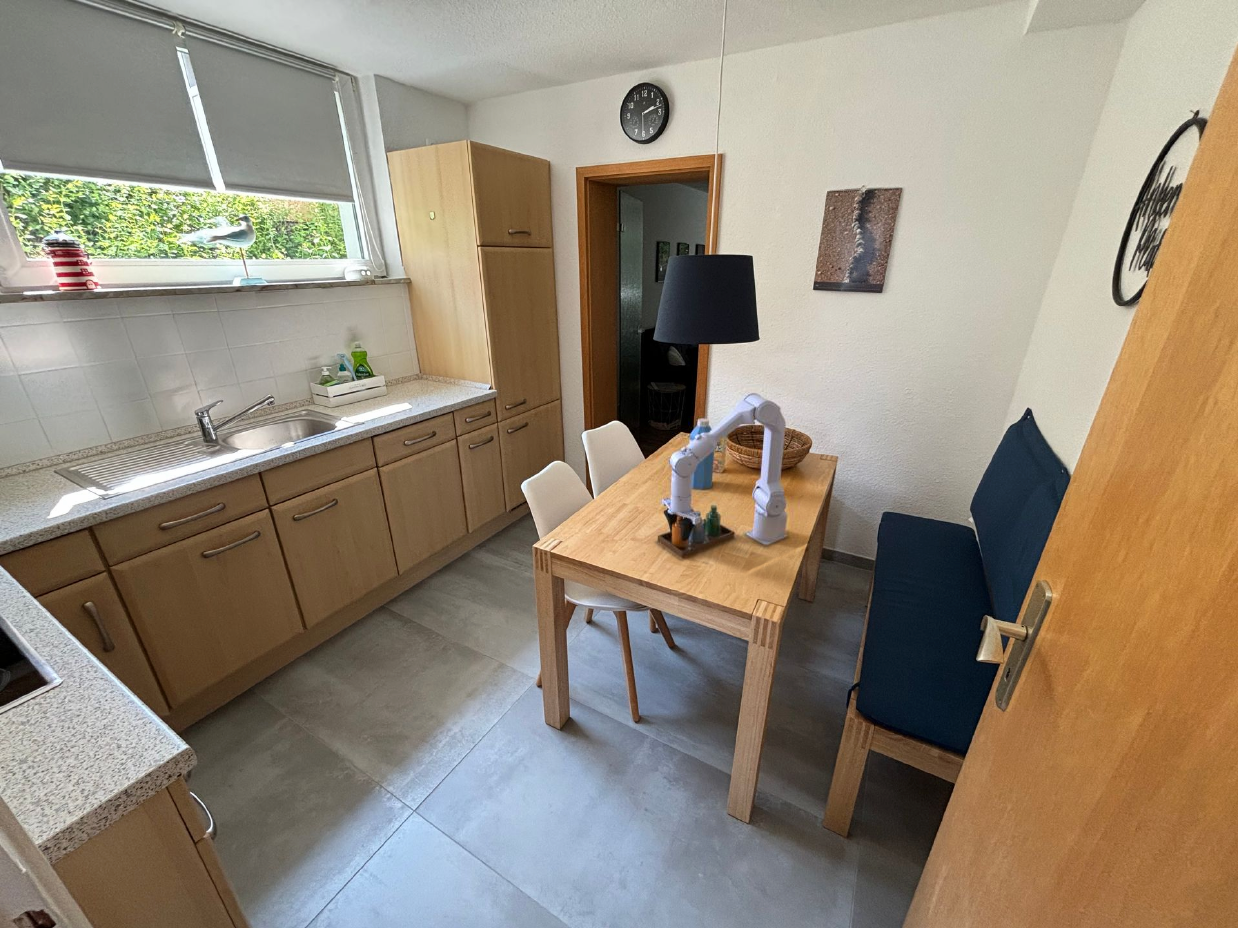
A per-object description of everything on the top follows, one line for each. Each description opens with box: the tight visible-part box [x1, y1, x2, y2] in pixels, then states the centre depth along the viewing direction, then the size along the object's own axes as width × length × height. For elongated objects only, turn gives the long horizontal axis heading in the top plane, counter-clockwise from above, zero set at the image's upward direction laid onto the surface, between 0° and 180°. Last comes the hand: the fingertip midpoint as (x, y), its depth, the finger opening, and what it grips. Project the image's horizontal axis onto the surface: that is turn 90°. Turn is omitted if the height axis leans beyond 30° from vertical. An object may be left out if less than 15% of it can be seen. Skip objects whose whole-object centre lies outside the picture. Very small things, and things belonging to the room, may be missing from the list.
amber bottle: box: [672, 515, 687, 547], centre depth 142 cm, size 4×4×9 cm
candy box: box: [713, 435, 728, 474], centre depth 196 cm, size 9×4×15 cm, turn 62°
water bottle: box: [689, 417, 714, 490], centre depth 181 cm, size 9×9×25 cm
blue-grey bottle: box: [689, 510, 705, 543], centre depth 146 cm, size 4×4×9 cm
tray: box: [657, 518, 735, 559], centre depth 148 cm, size 20×11×2 cm, turn 123°
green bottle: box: [705, 504, 722, 537], centre depth 149 cm, size 4×4×9 cm
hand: (679, 536), depth 143 cm, fingers closed on amber bottle, 4 cm apart
